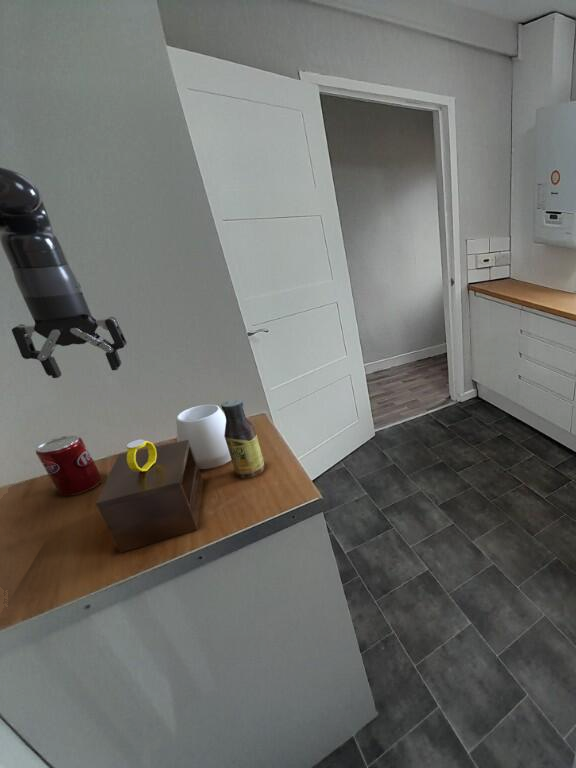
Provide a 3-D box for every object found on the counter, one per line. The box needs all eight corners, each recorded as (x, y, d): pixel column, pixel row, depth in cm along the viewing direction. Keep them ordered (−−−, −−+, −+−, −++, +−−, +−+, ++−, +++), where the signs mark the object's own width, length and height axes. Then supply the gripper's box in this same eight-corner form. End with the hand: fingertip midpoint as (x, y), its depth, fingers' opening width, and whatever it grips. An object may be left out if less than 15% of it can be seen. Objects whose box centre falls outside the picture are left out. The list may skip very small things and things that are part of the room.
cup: (174, 462, 105) (155, 415, 99) (231, 439, 115) (216, 395, 109) (196, 482, 98) (177, 432, 92) (255, 455, 108) (240, 409, 102)
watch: (149, 459, 85) (138, 435, 83) (164, 458, 86) (153, 434, 83) (129, 477, 80) (117, 452, 77) (145, 476, 80) (133, 451, 78)
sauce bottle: (231, 476, 100) (206, 405, 91) (254, 462, 105) (232, 393, 97) (250, 483, 98) (226, 410, 89) (272, 468, 103) (252, 398, 95)
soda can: (61, 501, 91) (34, 457, 85) (59, 486, 95) (33, 443, 90) (104, 486, 95) (82, 443, 90) (101, 472, 100) (79, 431, 95)
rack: (120, 553, 78) (95, 503, 73) (138, 499, 92) (118, 454, 87) (197, 530, 83) (179, 482, 79) (203, 482, 97) (188, 439, 93)
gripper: (-16, 298, 68) (29, 386, 75) (98, 291, 75) (130, 372, 82) (4, 290, 74) (44, 373, 81) (109, 284, 81) (137, 361, 87)
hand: (87, 372), depth 81 cm, fingers open, 8 cm apart
